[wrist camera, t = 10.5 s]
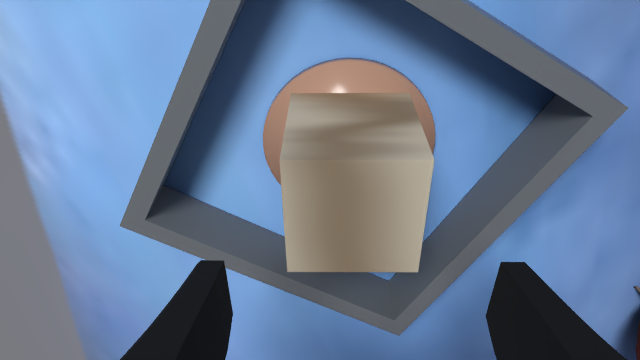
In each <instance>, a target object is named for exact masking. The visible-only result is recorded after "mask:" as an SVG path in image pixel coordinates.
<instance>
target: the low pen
mask: <svg viewBox="0 0 640 360" xmlns="http://www.w3.org/2000/svg"><path fill="white" fill-rule="evenodd" d="M406 1H407V2H409V3H411V4H412V5H414V6H415V7H417V8H419V9H420V10H422V11H424V12H425V13H427V14H428V15H430V16H432V17H433V18H435V19H436V20H438V21H440V22H441V23H443V24H445V25H446V26H448V27H449V28H451V29H453V30H454V31H456V32H457V33H459V34H461V35H462V36H464V37H466V38H467V39H469V40H470V41H472V42H474V43H475V44H477V45H478V46H480V47H482V48H483V49H485V50H487V51H488V52H490V53H491V54H493V55H495V56H496V57H498V58H499V59H501V60H503V61H504V62H506V63H508V64H509V65H511V66H512V67H514V68H516V69H517V70H519V71H520V72H522V73H524V74H525V75H527V76H529V77H530V78H532V79H533V80H535V81H537V82H538V83H540V84H541V85H543V86H545V87H546V88H548V89H550V90H551V91H553V92H554V93H556V95H555V96H554V98H553V99H552V100H551V101H550V102H549V103H548V104H547V105H546V106H545V108H544V109H543V110H542V111H541V112H540V113H539V114H538V115H537V116H536V118H535V119H534V120H533V121H532V122H531V123H530V124H529V125H528V127H527V128H526V129H525V130H524V131H523V132H522V133H521V134H520V135H519V137H518V138H517V139H516V140H515V141H514V142H513V143H512V144H511V145H510V147H509V148H508V149H507V150H506V151H505V152H504V153H503V154H502V155H501V157H500V158H499V159H498V160H497V161H496V162H495V163H494V164H493V166H492V167H491V168H490V169H489V170H488V171H487V172H486V173H485V174H484V176H483V177H482V178H481V179H480V180H479V181H478V182H477V183H476V184H475V186H474V187H473V188H472V189H471V190H470V191H469V192H468V193H467V194H466V196H465V197H464V198H463V199H462V200H461V201H460V202H459V203H458V205H457V206H456V207H455V208H454V209H453V210H452V211H451V212H450V213H449V215H448V216H447V217H446V218H445V219H444V220H443V221H442V222H441V223H440V225H439V226H438V227H437V228H436V229H435V230H434V231H433V232H432V233H431V235H430V236H429V237H428V238H427V239H426V240H425V241H424V242H423V244H422V248H421V255H420V262H419V269H418V272H396V274H395V275H394V276H393V277H392V278H391V279H390V280H389V281H387V280H384V279H382V278H380V277H377V276H375V275H373V274H370V273H368V272H287V260H286V246H285V237H283V236H281V235H279V234H276V233H274V232H272V231H269V230H267V229H265V228H262V227H260V226H258V225H255V224H253V223H251V222H248V221H246V220H244V219H241V218H239V217H236V216H234V215H232V214H229V213H227V212H225V211H222V210H220V209H218V208H215V207H213V206H211V205H208V204H206V203H204V202H201V201H199V200H197V199H194V198H192V197H190V196H187V195H185V194H183V193H180V192H178V191H175V190H173V189H171V188H168V187H166V186H164V183H165V181H166V178H167V176H168V174H169V172H170V169H171V167H172V165H173V163H174V160H175V158H176V156H177V154H178V151H179V149H180V147H181V145H182V142H183V140H184V138H185V136H186V133H187V131H188V129H189V127H190V124H191V122H192V120H193V118H194V115H195V113H196V111H197V109H198V106H199V104H200V102H201V100H202V97H203V95H204V93H205V90H206V88H207V86H208V84H209V81H210V79H211V77H212V75H213V72H214V70H215V68H216V66H217V63H218V61H219V59H220V57H221V54H222V52H223V50H224V48H225V45H226V43H227V41H228V39H229V36H230V34H231V32H232V30H233V27H234V25H235V23H236V21H237V18H238V16H239V14H240V11H241V9H242V7H243V5H244V2H245V0H211V1H210V3H209V6H208V8H207V11H206V13H205V15H204V18H203V20H202V23H201V25H200V28H199V30H198V33H197V35H196V38H195V40H194V43H193V45H192V48H191V50H190V53H189V55H188V58H187V60H186V63H185V65H184V68H183V70H182V73H181V75H180V78H179V80H178V82H177V85H176V87H175V90H174V92H173V95H172V97H171V100H170V102H169V105H168V107H167V110H166V112H165V115H164V117H163V120H162V122H161V125H160V127H159V130H158V132H157V135H156V137H155V140H154V142H153V144H152V147H151V149H150V152H149V154H148V157H147V159H146V162H145V164H144V167H143V169H142V172H141V174H140V177H139V179H138V182H137V184H136V187H135V189H134V192H133V194H132V197H131V199H130V202H129V204H128V207H127V209H126V211H125V214H124V216H123V219H122V221H121V224H120V226H121V227H123V228H126V229H129V230H131V231H134V232H136V233H139V234H141V235H144V236H146V237H149V238H151V239H154V240H157V241H159V242H162V243H164V244H167V245H169V246H172V247H174V248H177V249H179V250H182V251H185V252H187V253H190V254H192V255H195V256H197V257H200V258H202V259H205V260H223V261H224V263H225V268H228V269H230V270H233V271H235V272H238V273H240V274H243V275H246V276H248V277H251V278H253V279H256V280H258V281H261V282H263V283H266V284H268V285H271V286H274V287H276V288H279V289H281V290H284V291H286V292H289V293H291V294H294V295H296V296H299V297H302V298H304V299H307V300H309V301H312V302H314V303H317V304H319V305H322V306H324V307H327V308H330V309H332V310H335V311H337V312H340V313H342V314H345V315H347V316H350V317H352V318H355V319H358V320H360V321H363V322H365V323H368V324H370V325H373V326H375V327H378V328H380V329H383V330H386V331H388V332H391V333H393V334H396V335H398V336H399V335H400V334H401V333H402V332H403V331H404V330H405V329H406V328H407V327H408V326H409V325H410V324H411V323H412V322H413V321H414V320H415V319H416V318H417V317H418V316H419V315H420V314H421V313H422V312H423V311H424V310H425V309H426V308H427V307H428V306H429V305H430V304H431V303H432V302H433V301H434V300H435V299H436V298H437V297H439V296H440V295H441V294H442V293H443V292H444V291H445V290H446V289H447V288H448V287H449V286H450V285H451V284H452V283H453V282H454V281H455V280H456V279H457V278H458V277H459V276H460V275H461V274H462V273H463V272H464V271H465V270H466V269H467V268H468V267H469V266H470V265H471V264H472V263H473V262H474V261H475V260H476V259H477V258H478V257H479V256H480V255H481V254H482V253H483V252H484V251H485V250H486V249H487V248H488V247H489V246H490V245H491V244H492V243H493V242H494V241H495V240H496V239H497V238H498V237H499V236H500V235H501V234H502V233H503V232H504V231H505V230H506V229H507V228H508V227H509V226H510V225H511V224H512V223H513V222H514V221H515V220H516V219H517V218H518V217H519V216H520V215H521V214H522V213H523V212H524V211H525V210H526V209H527V208H528V207H529V206H530V205H531V204H532V203H533V202H534V201H535V200H536V199H537V198H538V197H539V196H540V195H541V194H542V193H543V192H544V191H545V190H546V189H547V188H548V187H549V186H550V185H551V184H552V183H553V182H554V181H555V180H556V179H557V178H558V177H559V176H560V175H562V174H563V173H564V172H565V171H566V170H567V169H568V168H569V167H570V166H571V165H572V164H573V163H574V162H575V161H576V160H577V159H578V158H579V157H580V156H581V155H582V154H583V153H584V152H585V151H586V150H587V149H588V148H589V147H590V146H591V145H592V144H593V143H594V142H595V141H596V140H597V139H598V138H599V137H600V136H601V135H602V134H603V133H604V132H605V131H606V130H607V129H608V128H609V127H610V126H611V125H612V124H613V123H614V122H615V121H616V120H617V119H618V118H619V117H620V116H621V115H622V114H623V113H624V112H625V111H626V110H627V109H628V107H626V106H625V105H624V104H622V103H621V102H620V101H619V100H617V99H616V98H615V97H613V96H612V95H611V94H609V93H608V92H607V91H605V90H604V89H603V88H602V87H600V86H599V85H598V84H596V83H595V82H594V81H592V80H591V79H589V78H588V77H586V76H585V75H583V74H582V73H580V72H578V71H577V70H575V69H574V68H572V67H571V66H569V65H568V64H566V63H565V62H563V61H561V60H560V59H558V58H557V57H555V56H554V55H552V54H551V53H549V52H548V51H546V50H544V49H543V48H541V47H540V46H538V45H537V44H535V43H534V42H532V41H530V40H529V39H527V38H526V37H524V36H523V35H521V34H520V33H518V32H517V31H515V30H513V29H512V28H510V27H509V26H507V25H506V24H504V23H503V22H501V21H500V20H498V19H496V18H495V17H493V16H492V15H490V14H489V13H487V12H486V11H484V10H483V9H481V8H479V7H478V6H476V5H475V4H473V3H472V2H470V1H469V0H406Z"/></svg>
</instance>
